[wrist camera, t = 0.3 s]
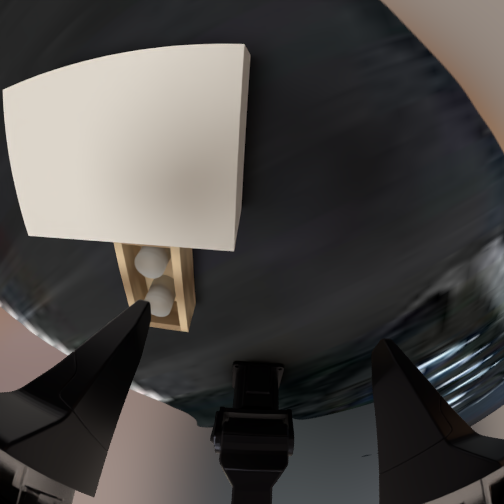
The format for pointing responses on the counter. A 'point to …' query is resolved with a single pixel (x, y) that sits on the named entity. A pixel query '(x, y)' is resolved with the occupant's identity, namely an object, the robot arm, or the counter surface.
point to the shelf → (134, 147)
